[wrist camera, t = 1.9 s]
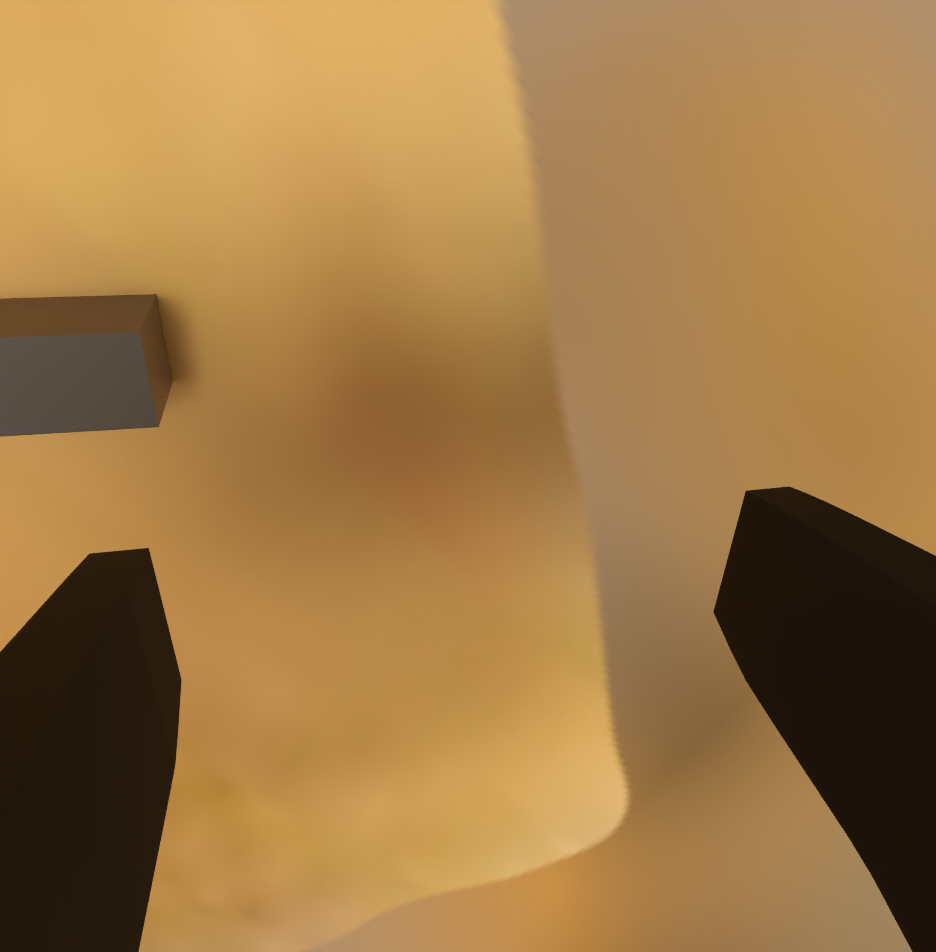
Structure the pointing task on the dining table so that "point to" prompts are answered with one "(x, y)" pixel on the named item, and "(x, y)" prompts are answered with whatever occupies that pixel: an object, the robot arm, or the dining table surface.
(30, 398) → the plug
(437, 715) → the dining table surface
